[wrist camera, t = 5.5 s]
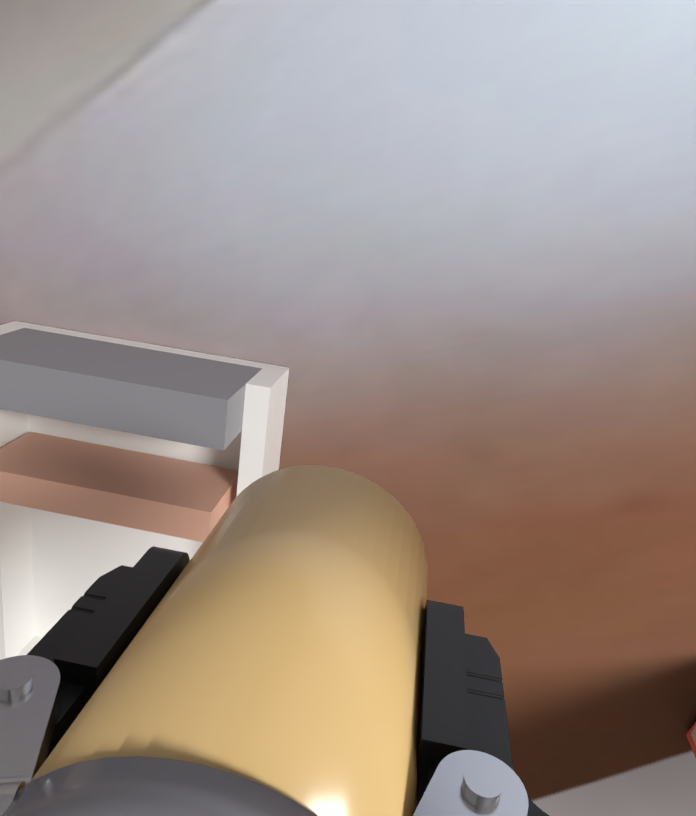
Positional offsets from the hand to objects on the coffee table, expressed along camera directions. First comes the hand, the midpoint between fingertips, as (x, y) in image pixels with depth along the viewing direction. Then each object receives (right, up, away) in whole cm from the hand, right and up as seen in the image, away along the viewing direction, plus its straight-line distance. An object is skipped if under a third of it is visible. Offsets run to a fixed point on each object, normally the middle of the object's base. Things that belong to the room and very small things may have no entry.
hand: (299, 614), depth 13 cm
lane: (-9, -1, +19) cm, 21 cm away
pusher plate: (-9, +2, +16) cm, 19 cm away
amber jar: (0, +1, +2) cm, 2 cm away
